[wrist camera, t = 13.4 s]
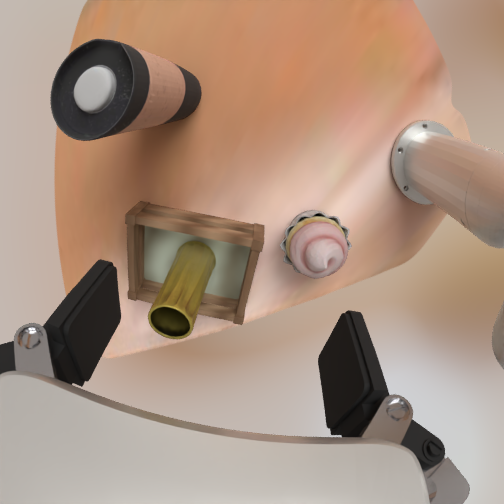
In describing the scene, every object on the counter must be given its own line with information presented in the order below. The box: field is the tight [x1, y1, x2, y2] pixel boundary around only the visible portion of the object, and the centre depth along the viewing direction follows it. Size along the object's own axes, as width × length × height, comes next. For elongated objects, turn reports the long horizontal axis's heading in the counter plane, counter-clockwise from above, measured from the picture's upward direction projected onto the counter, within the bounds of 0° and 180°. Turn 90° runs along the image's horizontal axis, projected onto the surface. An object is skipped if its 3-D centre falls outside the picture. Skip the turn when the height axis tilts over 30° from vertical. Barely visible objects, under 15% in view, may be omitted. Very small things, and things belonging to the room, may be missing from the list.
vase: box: [148, 241, 216, 339], centre depth 35 cm, size 6×6×14 cm
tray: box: [125, 201, 264, 325], centre depth 40 cm, size 18×14×5 cm
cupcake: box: [280, 210, 351, 278], centre depth 35 cm, size 9×9×10 cm
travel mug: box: [51, 39, 201, 141], centre depth 22 cm, size 8×8×20 cm
